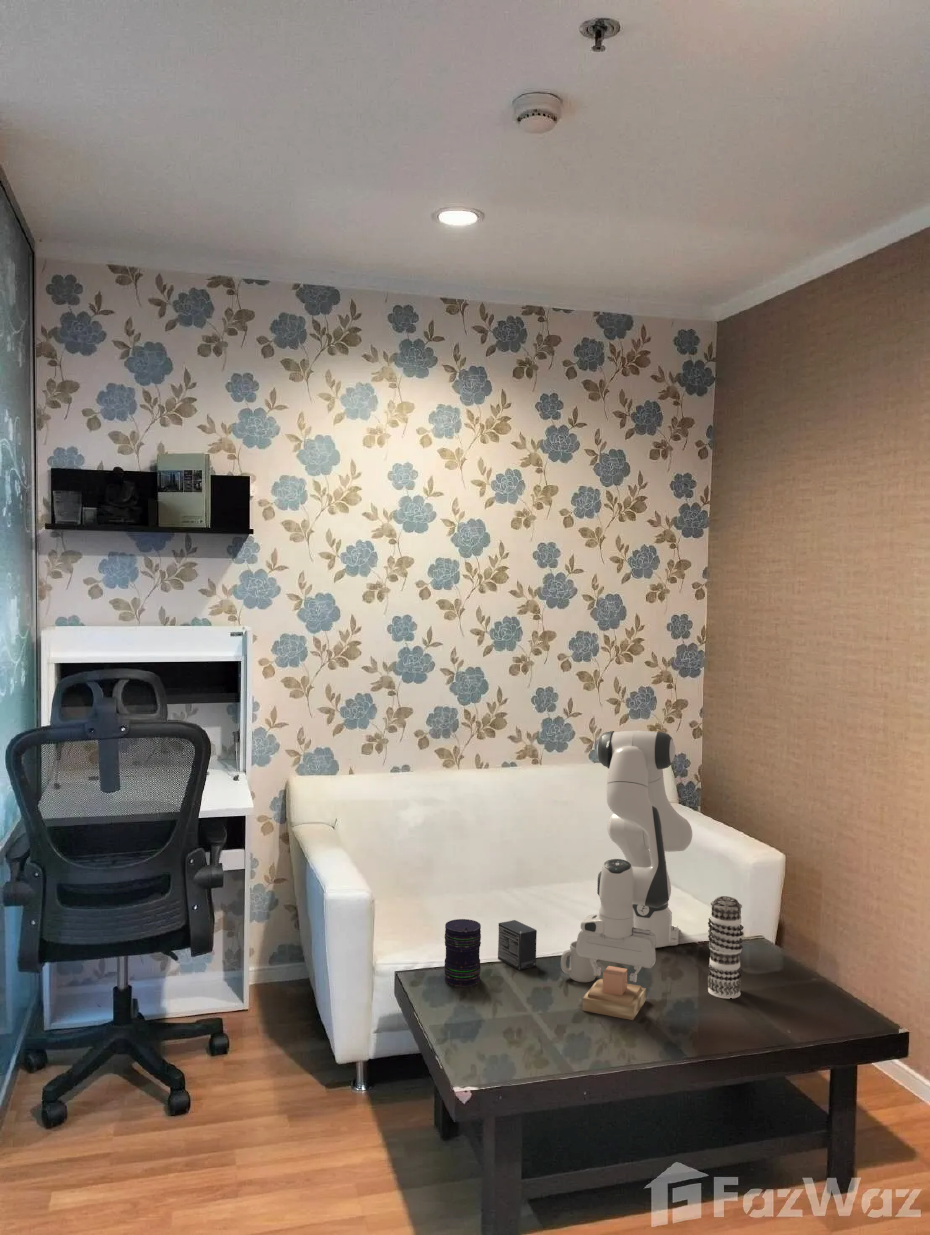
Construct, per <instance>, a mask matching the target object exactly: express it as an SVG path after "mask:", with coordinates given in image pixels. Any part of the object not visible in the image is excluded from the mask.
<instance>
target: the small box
mask: <svg viewBox="0 0 930 1235" xmlns="http://www.w3.org/2000/svg"><path fill="white" fill-rule="evenodd" d="M537 933H538V932H537V929H535V928H534V927H531V926H528V925H526V924H524V923H522V922H520V921H518V920H516V919H512V920H508V921H507V920H506V921H502V922H498V940H497V942H498V943H497V944H498V945H497V946H498V947H497V948H498V949H497V959H498V961H499V960H500V961H501V962H503V963H504V964H507V965H509V966H511V967H512V968H514V969H516V970H518V971H521V970H524V969H529V968H532V967H536V966H537V937H538V936H537Z"/></svg>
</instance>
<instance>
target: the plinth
mask: <svg viewBox="0 0 930 1235" xmlns="http://www.w3.org/2000/svg"><path fill="white" fill-rule="evenodd" d="M646 1001H647V988H645V987H642V985H639V984H638V985H637V984H632V983H627V989H626V990H625V992H624V993H623V994H622V995H617V994H612V993H606V992H603V978H599V979H597V980H596V981H595V982H594V983H593V984H592V986H591V987H590V988H589V989H588V991H587V992H586V993H585V994H584V996H583V997H582V1011H584V1012H587V1013H593V1014H594V1013H595V1014H599V1015H604V1016H609V1017H615V1018H619V1019H625V1020H630V1021H634V1019H635V1018H636V1016H637V1015H638V1014H639V1012H640V1011H641V1009H642V1007H643V1006H644V1004H645V1002H646Z"/></svg>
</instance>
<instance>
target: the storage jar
mask: <svg viewBox="0 0 930 1235" xmlns="http://www.w3.org/2000/svg"><path fill="white" fill-rule="evenodd" d="M444 926H445V928H444V929H445V930H444V946H445V958H444V966H443V967H444V968H443V970H444V981H445V983H446V982H447V983H446V984H448V983H449V984H448V985H450V984H451V985H450V986H453V985H455V986H454V987H463V988H464V987H465V986H466V987H472V986H475V985H477V984H478V983H479V982H480V981H481V977H480V975H481V959H480V947H481V944H482V942H481V939H482V934H481V933H482V932H481V927H482V925H481V923H480V922H478V921H476V920H473V919H466V918H460V919H458V918H457V919H452V920H449V921H447V922H446V923H445V925H444ZM476 983H477V984H476ZM474 984H475V985H474Z"/></svg>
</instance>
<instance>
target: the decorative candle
mask: <svg viewBox="0 0 930 1235" xmlns="http://www.w3.org/2000/svg"><path fill="white" fill-rule="evenodd" d="M710 906H711V914H710V917H709V918H708V922H707V925H708V927H709V928H708V931H707V932H708V935H707V937H708V940H709V943H708V948H709V950H710V957H709V964H707V966H708V970H707V972H708V976H707V986H708V987H707V991H708V993H709V994H710V995H712V996H713V997H715V998H720V999H726V1000H727V999H728V1000H729V999H730V998H732V999H736V998H739V997H740V996H741V994H742V993H741V990H742V987H741V984H742V981H741V977H742V973H741V971H742V967H741V960H740V958H741V957H740V956H741V955H740V954H741V952H742V951H743V950H742V949H743V945H742V943H743V938H741V937H742V936H743V935H744V932H743V930H744V926H743V925H742V916H741V914H742V911H741V910H742V908H743V905H742V904H741V903H740V902H739V901H738V899H736V898H735V897H731V896H725V895H724V896H722V895H721V896H718V897H716V898H715V899H713V900H712V901H711V902H710Z"/></svg>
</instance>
